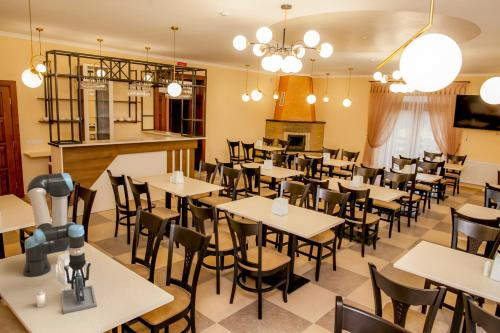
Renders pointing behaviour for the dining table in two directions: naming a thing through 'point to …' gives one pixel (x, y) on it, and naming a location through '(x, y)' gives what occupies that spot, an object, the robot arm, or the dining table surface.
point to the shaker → (40, 299)
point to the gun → (79, 287)
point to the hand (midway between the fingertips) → (78, 293)
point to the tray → (74, 305)
